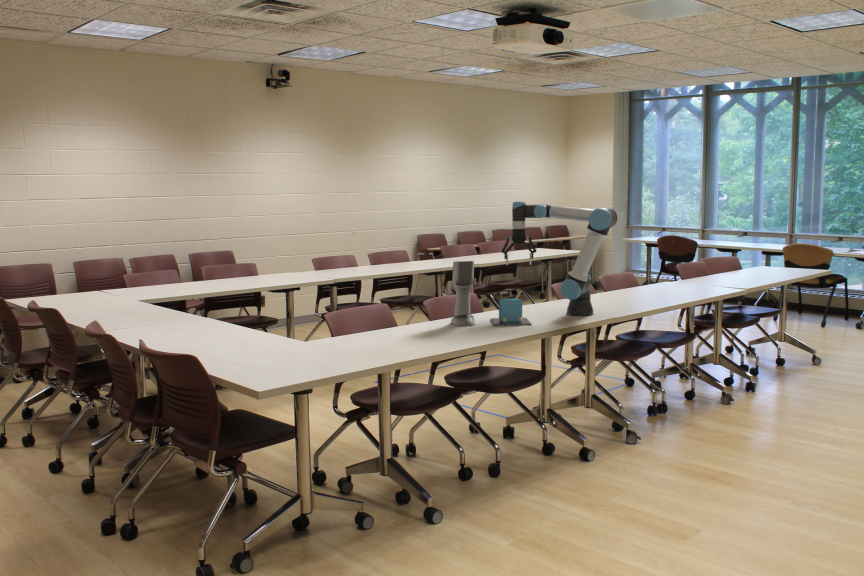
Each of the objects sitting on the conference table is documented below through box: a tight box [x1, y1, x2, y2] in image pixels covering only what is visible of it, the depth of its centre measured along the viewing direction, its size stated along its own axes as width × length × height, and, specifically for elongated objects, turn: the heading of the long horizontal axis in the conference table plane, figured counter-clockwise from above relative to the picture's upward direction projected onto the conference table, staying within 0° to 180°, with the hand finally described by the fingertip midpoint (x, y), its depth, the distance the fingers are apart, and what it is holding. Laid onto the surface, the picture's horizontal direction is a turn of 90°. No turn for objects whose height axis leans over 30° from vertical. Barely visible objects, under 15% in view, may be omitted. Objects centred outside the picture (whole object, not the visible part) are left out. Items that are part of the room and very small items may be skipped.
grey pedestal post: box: [450, 260, 476, 327], centre depth 394 cm, size 12×13×35 cm
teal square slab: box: [498, 298, 523, 322], centre depth 397 cm, size 12×4×12 cm, turn 99°
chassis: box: [489, 317, 532, 327], centre depth 398 cm, size 20×19×4 cm
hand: (518, 264), depth 425 cm, fingers open, 13 cm apart
